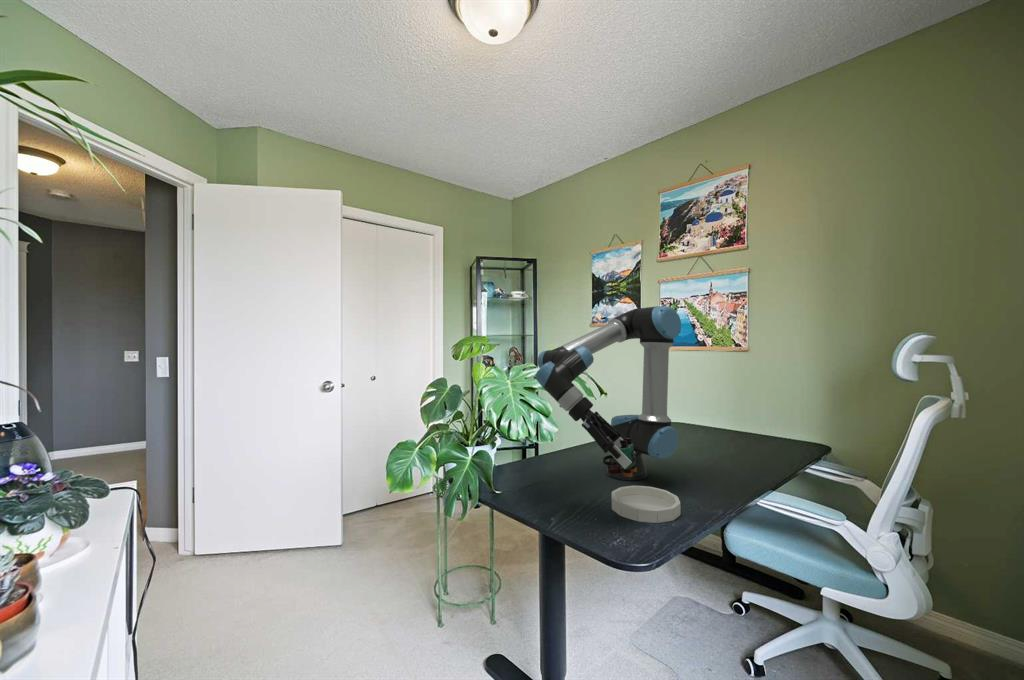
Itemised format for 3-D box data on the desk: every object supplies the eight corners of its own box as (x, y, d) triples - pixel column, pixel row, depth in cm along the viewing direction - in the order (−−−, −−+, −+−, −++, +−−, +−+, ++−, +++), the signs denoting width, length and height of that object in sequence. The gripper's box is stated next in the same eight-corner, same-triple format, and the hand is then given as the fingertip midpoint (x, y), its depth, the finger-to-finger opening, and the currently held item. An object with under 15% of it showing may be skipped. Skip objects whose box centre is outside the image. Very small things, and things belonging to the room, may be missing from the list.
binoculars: (605, 434, 131) (637, 434, 126) (609, 468, 130) (642, 470, 125) (595, 441, 123) (629, 441, 118) (599, 477, 123) (634, 479, 118)
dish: (599, 509, 131) (599, 498, 131) (630, 491, 145) (630, 481, 145) (662, 529, 117) (662, 516, 117) (689, 507, 132) (689, 496, 132)
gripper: (576, 406, 140) (626, 458, 134) (557, 419, 120) (615, 480, 114) (591, 391, 138) (643, 443, 132) (575, 401, 118) (635, 463, 112)
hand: (630, 460), depth 123 cm, fingers closed on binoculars, 9 cm apart
